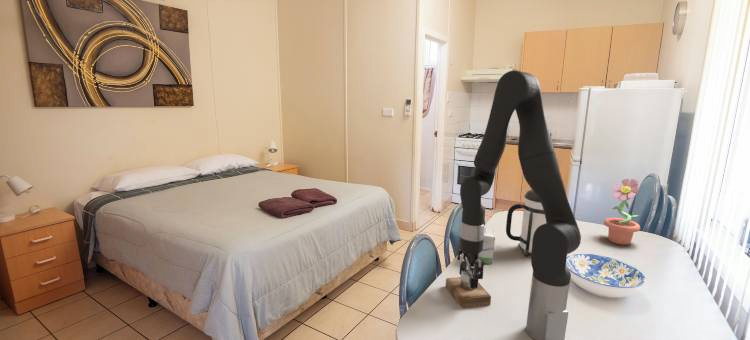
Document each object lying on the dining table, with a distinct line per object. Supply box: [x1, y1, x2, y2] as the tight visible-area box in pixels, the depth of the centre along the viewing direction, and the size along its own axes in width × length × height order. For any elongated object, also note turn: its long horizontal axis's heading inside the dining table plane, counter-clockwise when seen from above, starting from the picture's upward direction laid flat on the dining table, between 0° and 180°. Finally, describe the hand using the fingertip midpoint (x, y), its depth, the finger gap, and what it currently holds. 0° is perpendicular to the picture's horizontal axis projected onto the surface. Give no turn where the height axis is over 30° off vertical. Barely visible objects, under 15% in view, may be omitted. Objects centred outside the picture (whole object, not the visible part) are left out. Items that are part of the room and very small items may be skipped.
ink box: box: [478, 228, 496, 265], centre depth 145 cm, size 9×5×12 cm, turn 168°
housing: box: [460, 268, 475, 291], centre depth 119 cm, size 5×5×5 cm
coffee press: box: [505, 188, 546, 257], centre depth 151 cm, size 17×16×30 cm
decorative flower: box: [603, 178, 641, 246], centre depth 164 cm, size 15×14×30 cm
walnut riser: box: [445, 276, 492, 309], centre depth 120 cm, size 13×10×3 cm
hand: (468, 281), depth 119 cm, fingers open, 8 cm apart
